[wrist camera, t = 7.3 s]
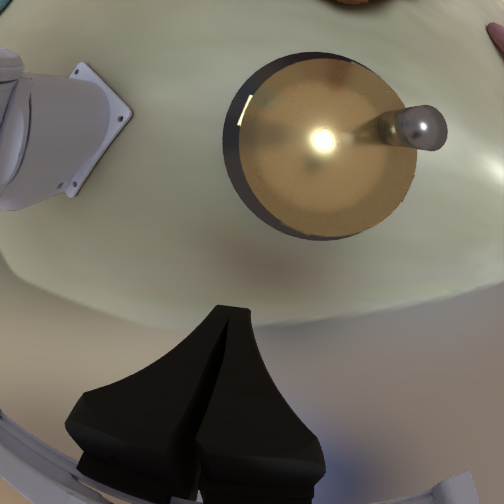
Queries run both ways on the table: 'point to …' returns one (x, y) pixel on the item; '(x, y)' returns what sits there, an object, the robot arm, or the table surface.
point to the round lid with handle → (332, 146)
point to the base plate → (232, 139)
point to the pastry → (353, 1)
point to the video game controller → (497, 34)
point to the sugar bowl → (3, 3)
